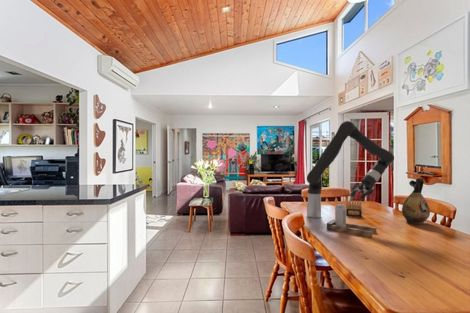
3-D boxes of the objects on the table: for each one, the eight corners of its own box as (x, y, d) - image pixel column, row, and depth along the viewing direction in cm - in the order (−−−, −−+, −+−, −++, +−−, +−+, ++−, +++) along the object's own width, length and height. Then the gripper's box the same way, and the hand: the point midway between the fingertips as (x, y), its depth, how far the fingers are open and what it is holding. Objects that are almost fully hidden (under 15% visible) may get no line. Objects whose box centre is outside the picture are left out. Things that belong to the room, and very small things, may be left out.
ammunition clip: (361, 216, 194) (361, 200, 194) (361, 216, 193) (361, 200, 192) (346, 215, 199) (346, 199, 199) (346, 215, 197) (345, 199, 197)
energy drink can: (337, 227, 165) (337, 203, 165) (347, 229, 161) (347, 204, 161) (333, 229, 161) (333, 205, 160) (344, 231, 157) (344, 206, 157)
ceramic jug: (421, 227, 164) (421, 179, 164) (396, 221, 178) (396, 177, 178) (436, 223, 172) (436, 178, 172) (411, 218, 186) (411, 176, 186)
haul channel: (326, 229, 160) (326, 223, 160) (333, 225, 169) (333, 219, 169) (371, 237, 144) (371, 230, 144) (376, 232, 153) (376, 225, 153)
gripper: (359, 173, 173) (344, 191, 170) (376, 175, 159) (360, 195, 156) (366, 180, 174) (351, 199, 172) (383, 183, 161) (368, 203, 158)
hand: (356, 197), depth 164 cm, fingers open, 8 cm apart
